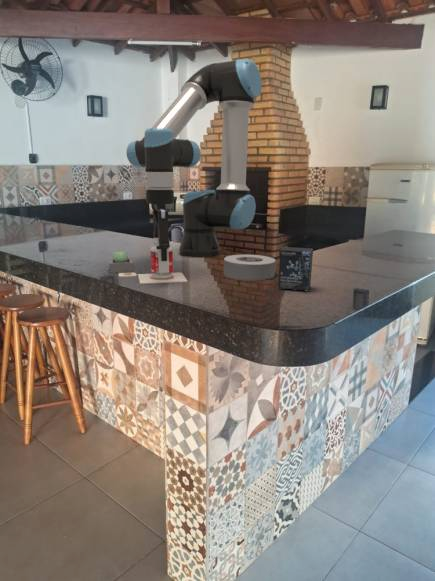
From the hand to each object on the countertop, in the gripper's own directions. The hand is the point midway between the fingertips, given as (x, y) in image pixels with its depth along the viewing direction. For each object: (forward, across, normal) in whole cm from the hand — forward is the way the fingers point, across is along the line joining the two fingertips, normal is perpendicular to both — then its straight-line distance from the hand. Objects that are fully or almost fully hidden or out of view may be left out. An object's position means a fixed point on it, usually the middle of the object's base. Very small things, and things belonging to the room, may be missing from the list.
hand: (161, 268), depth 125 cm
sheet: (+3, 0, 0) cm, 3 cm away
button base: (+3, -13, -11) cm, 17 cm away
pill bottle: (+3, 0, 0) cm, 3 cm away
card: (+3, -6, -10) cm, 12 cm away
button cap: (+1, -13, -11) cm, 17 cm away
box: (+3, +18, +33) cm, 38 cm away
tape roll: (+3, 0, +26) cm, 26 cm away
